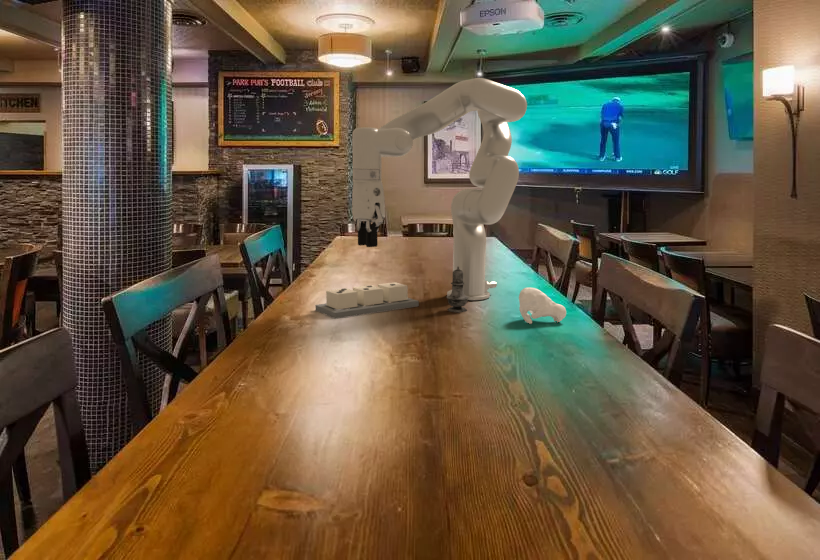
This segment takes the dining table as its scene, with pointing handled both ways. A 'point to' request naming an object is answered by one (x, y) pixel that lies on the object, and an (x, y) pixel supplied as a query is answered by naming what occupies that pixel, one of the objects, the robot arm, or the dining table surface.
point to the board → (366, 308)
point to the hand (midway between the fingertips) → (367, 245)
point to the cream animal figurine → (539, 305)
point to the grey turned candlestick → (457, 293)
